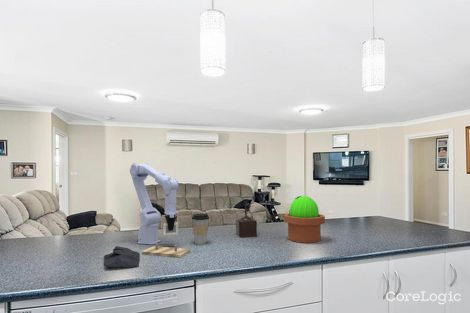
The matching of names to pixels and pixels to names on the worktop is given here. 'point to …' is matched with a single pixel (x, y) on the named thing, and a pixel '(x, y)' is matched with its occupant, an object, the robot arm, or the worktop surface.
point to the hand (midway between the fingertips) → (170, 229)
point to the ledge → (166, 251)
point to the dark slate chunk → (122, 258)
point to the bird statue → (246, 225)
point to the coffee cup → (200, 228)
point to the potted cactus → (304, 220)
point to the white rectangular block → (167, 232)
